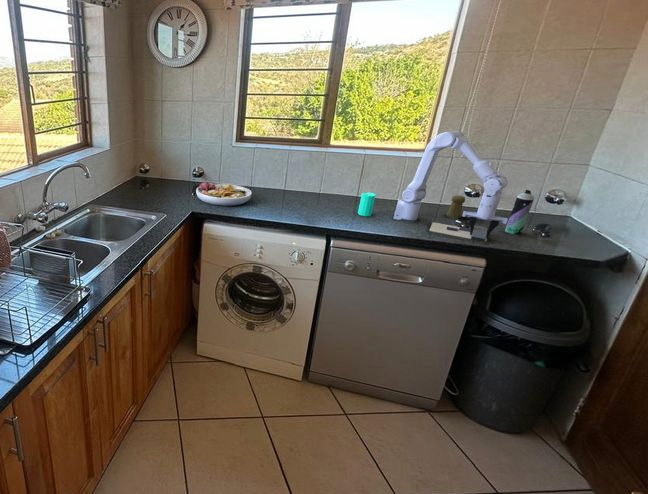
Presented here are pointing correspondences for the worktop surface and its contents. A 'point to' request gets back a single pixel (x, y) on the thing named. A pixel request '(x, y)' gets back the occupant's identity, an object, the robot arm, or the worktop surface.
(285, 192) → the worktop surface
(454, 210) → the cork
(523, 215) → the spray can
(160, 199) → the worktop surface
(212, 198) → the bowl
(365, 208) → the candle
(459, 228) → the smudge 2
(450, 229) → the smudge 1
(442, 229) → the memo board
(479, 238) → the eraser
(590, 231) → the worktop surface
